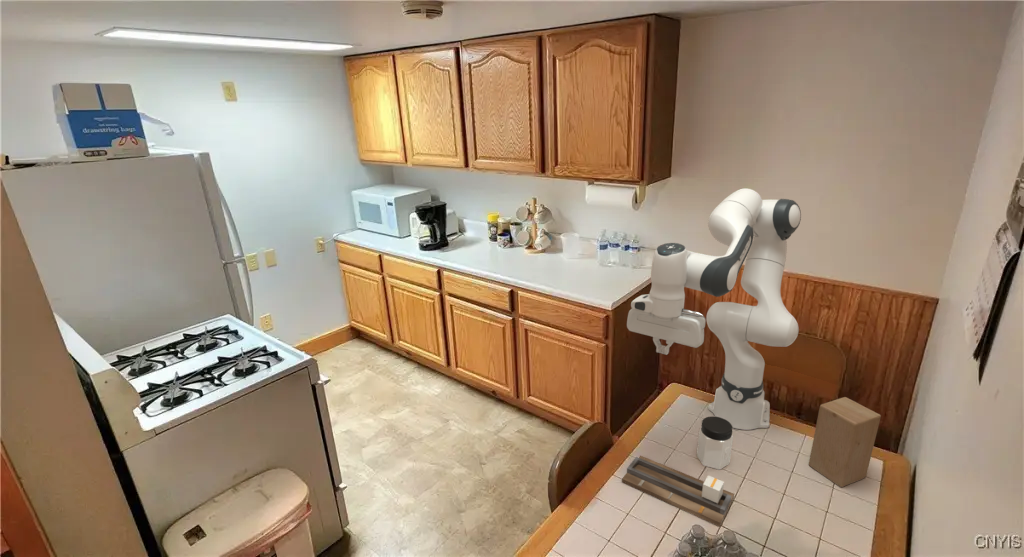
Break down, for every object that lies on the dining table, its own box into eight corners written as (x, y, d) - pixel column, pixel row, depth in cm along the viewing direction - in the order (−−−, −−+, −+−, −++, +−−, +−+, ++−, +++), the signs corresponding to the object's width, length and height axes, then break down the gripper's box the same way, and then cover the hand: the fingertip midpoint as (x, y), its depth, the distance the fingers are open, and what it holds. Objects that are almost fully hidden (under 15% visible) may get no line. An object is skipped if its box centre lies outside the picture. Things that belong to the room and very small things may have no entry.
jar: (715, 473, 139) (720, 437, 135) (691, 458, 145) (694, 422, 142) (734, 461, 144) (739, 425, 140) (710, 446, 150) (714, 412, 146)
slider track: (640, 458, 146) (640, 451, 145) (733, 497, 130) (734, 489, 129) (621, 482, 137) (622, 474, 136) (719, 526, 121) (721, 517, 120)
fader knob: (706, 492, 130) (708, 474, 129) (721, 498, 128) (724, 481, 126) (701, 501, 127) (703, 483, 126) (717, 508, 125) (719, 490, 123)
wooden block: (841, 488, 132) (855, 424, 126) (807, 465, 141) (819, 404, 135) (866, 477, 136) (882, 414, 130) (832, 455, 145) (845, 395, 138)
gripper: (710, 310, 127) (705, 358, 131) (635, 294, 139) (633, 339, 143) (702, 318, 122) (697, 368, 127) (625, 301, 134) (623, 347, 139)
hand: (662, 352), depth 135 cm, fingers closed
